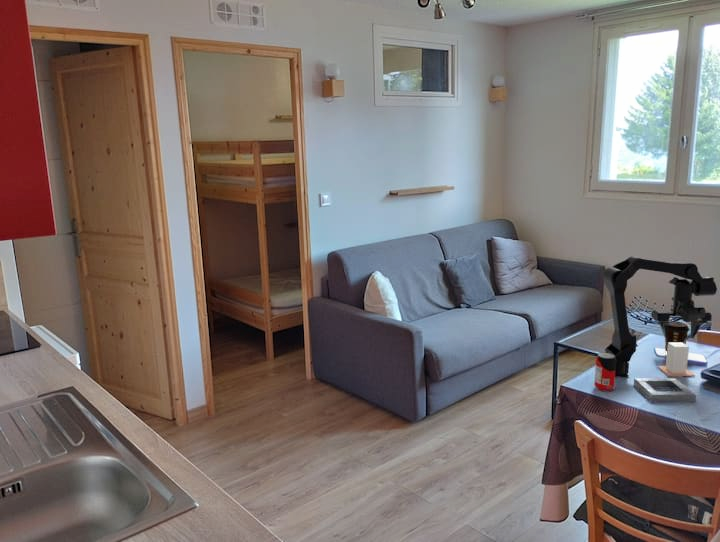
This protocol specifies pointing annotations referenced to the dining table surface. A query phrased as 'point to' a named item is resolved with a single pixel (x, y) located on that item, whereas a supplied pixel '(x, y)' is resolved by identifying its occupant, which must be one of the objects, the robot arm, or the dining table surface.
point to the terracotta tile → (668, 373)
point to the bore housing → (678, 396)
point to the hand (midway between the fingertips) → (679, 338)
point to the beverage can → (605, 371)
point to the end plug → (677, 357)
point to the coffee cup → (676, 333)
